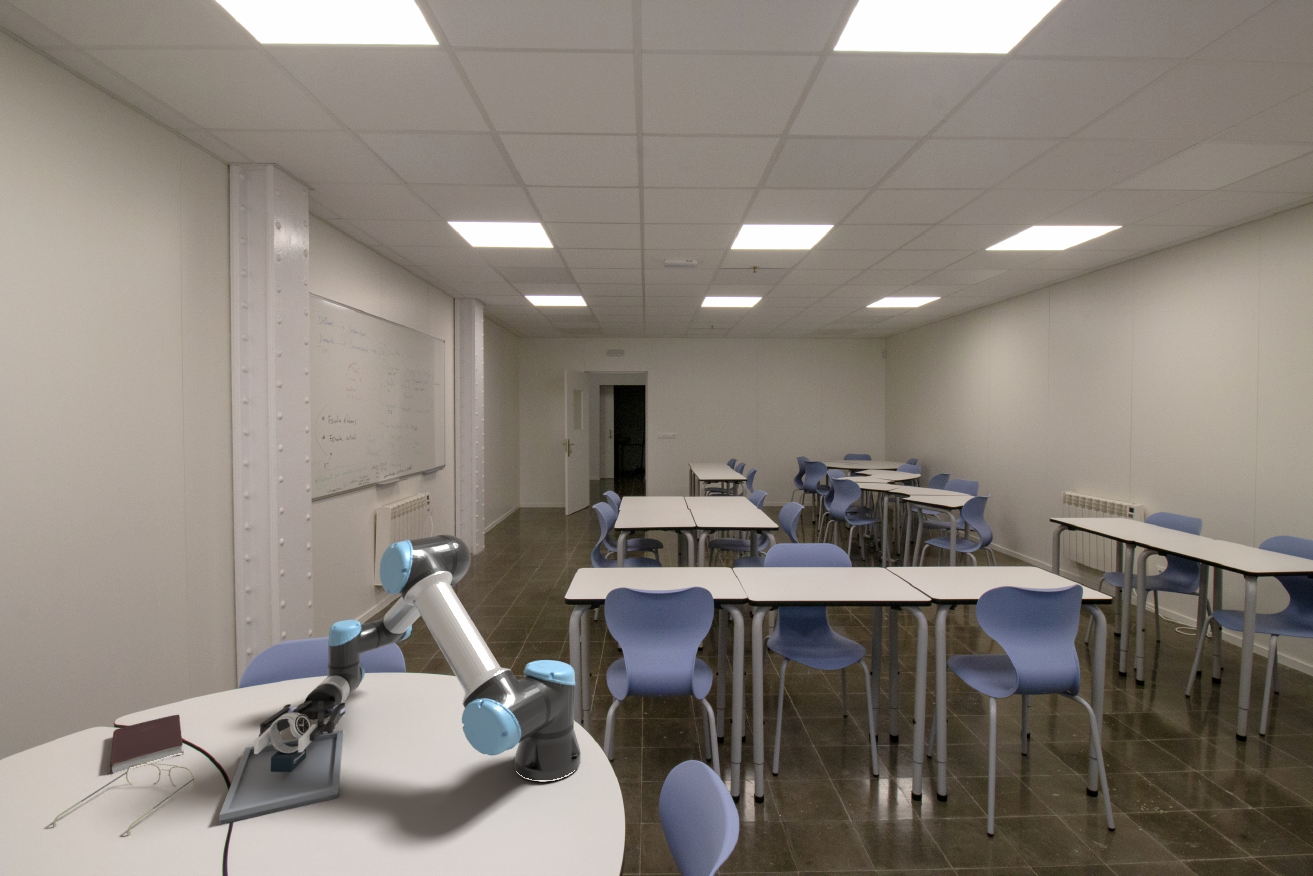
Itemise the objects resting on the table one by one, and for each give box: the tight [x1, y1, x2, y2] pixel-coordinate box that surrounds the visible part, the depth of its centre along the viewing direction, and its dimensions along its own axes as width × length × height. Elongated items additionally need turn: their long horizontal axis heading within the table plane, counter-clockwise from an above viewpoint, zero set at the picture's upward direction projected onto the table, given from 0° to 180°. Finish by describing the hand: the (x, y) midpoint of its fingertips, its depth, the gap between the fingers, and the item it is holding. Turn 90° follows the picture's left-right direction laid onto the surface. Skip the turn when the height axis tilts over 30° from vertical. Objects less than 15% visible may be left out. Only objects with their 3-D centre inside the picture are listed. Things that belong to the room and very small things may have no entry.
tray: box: [218, 729, 344, 826], centre depth 126 cm, size 26×20×2 cm
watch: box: [269, 712, 312, 772], centre depth 126 cm, size 6×8×11 cm
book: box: [109, 714, 184, 775], centre depth 136 cm, size 12×19×3 cm, turn 42°
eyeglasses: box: [52, 762, 195, 837], centre depth 114 cm, size 16×15×5 cm
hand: (278, 746), depth 121 cm, fingers closed on watch, 8 cm apart
